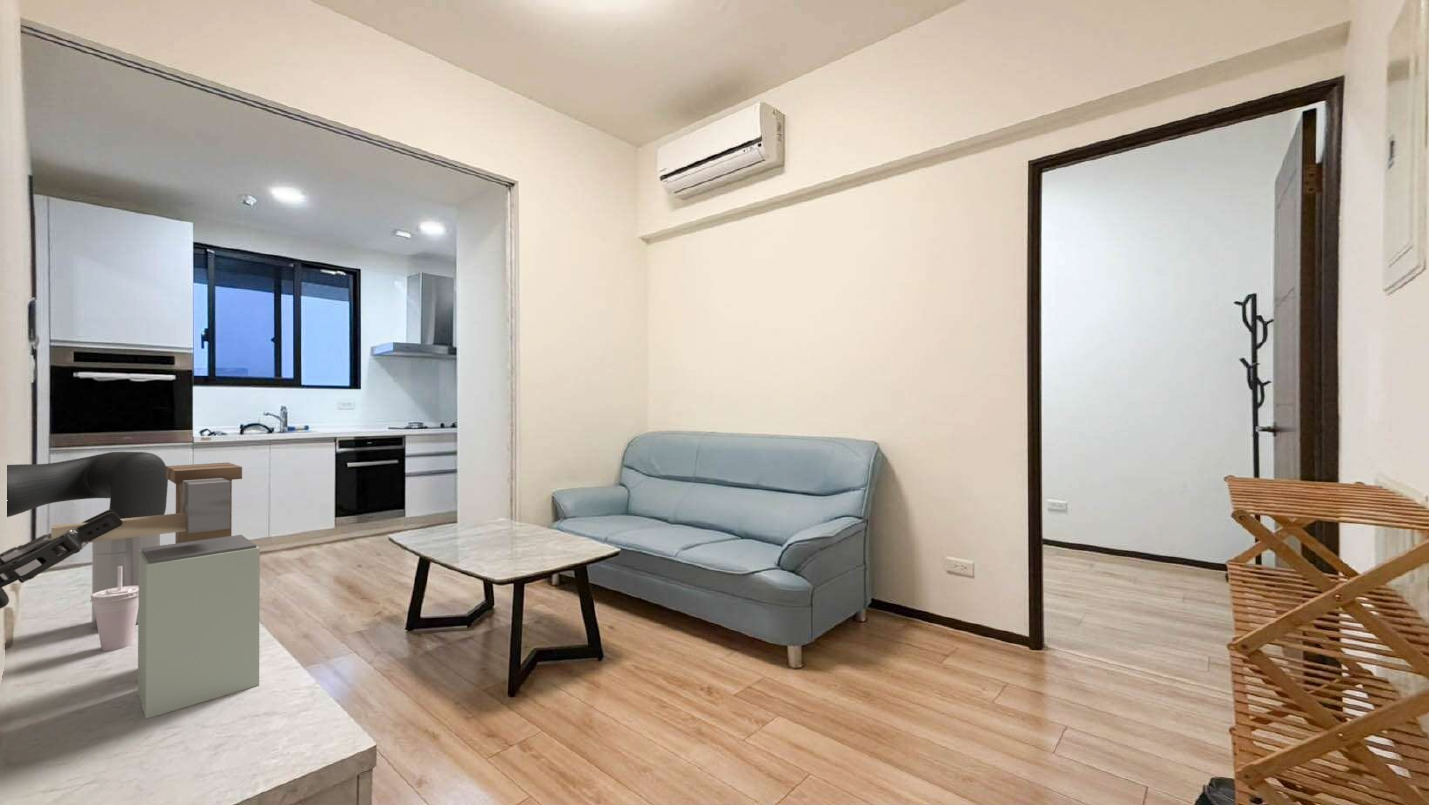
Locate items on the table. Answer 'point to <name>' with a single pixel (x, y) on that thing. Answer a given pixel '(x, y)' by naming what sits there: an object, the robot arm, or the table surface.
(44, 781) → the table surface
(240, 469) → the wooden t-shaped stand
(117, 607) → the smoothie
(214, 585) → the sage cabinet
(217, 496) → the hammer
